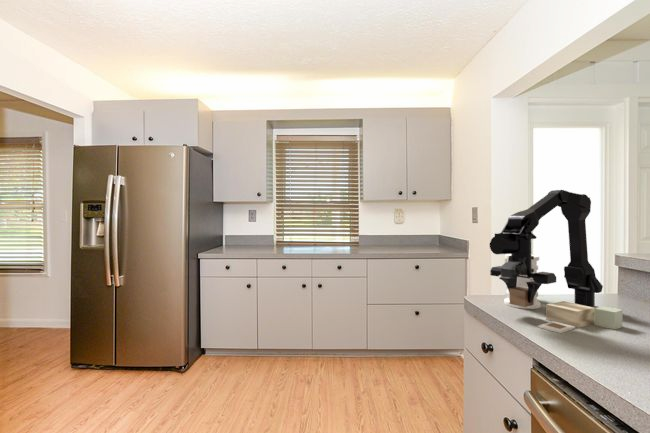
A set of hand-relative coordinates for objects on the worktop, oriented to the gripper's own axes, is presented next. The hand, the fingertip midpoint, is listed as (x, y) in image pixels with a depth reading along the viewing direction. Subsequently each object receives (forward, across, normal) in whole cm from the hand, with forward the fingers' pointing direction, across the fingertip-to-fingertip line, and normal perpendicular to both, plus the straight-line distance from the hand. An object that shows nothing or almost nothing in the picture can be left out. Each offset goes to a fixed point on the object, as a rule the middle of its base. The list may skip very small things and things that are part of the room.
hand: (521, 300), depth 115 cm
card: (+5, +12, -3) cm, 13 cm away
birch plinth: (+5, +11, +7) cm, 14 cm away
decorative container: (+5, -8, +14) cm, 17 cm away
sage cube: (+5, +19, +12) cm, 23 cm away
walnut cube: (+1, 0, 0) cm, 1 cm away
